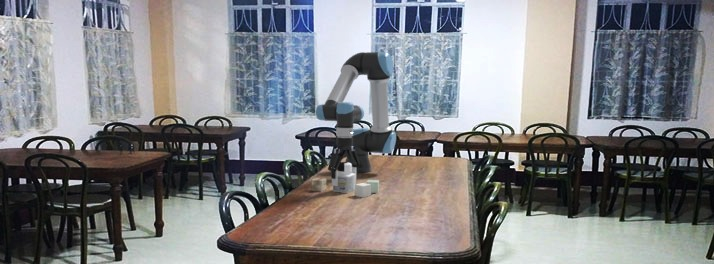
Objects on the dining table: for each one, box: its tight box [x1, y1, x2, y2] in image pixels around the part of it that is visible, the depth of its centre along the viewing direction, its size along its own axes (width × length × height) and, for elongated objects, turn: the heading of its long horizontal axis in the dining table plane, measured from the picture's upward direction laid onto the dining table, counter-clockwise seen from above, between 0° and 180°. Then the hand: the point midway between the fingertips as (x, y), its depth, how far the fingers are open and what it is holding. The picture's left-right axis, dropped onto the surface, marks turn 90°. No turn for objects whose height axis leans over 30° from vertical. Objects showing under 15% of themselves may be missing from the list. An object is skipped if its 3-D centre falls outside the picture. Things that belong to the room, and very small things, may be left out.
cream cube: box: [354, 182, 372, 198], centre depth 229 cm, size 5×5×5 cm
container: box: [332, 161, 357, 194], centre depth 237 cm, size 8×8×13 cm
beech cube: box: [311, 177, 327, 192], centre depth 239 cm, size 5×5×5 cm
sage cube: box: [366, 179, 380, 194], centre depth 236 cm, size 5×5×5 cm
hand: (344, 183), depth 237 cm, fingers open, 13 cm apart
